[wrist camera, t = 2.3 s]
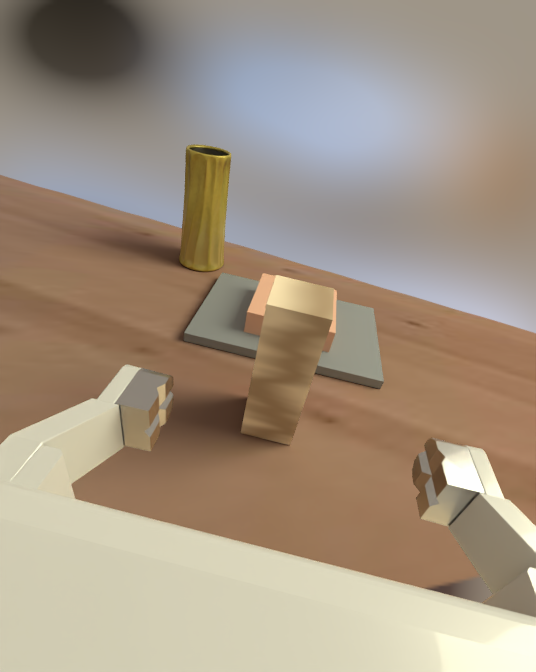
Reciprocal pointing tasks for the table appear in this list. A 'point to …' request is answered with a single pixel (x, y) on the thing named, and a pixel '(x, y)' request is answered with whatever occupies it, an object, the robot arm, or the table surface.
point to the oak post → (287, 357)
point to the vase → (204, 207)
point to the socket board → (247, 318)
